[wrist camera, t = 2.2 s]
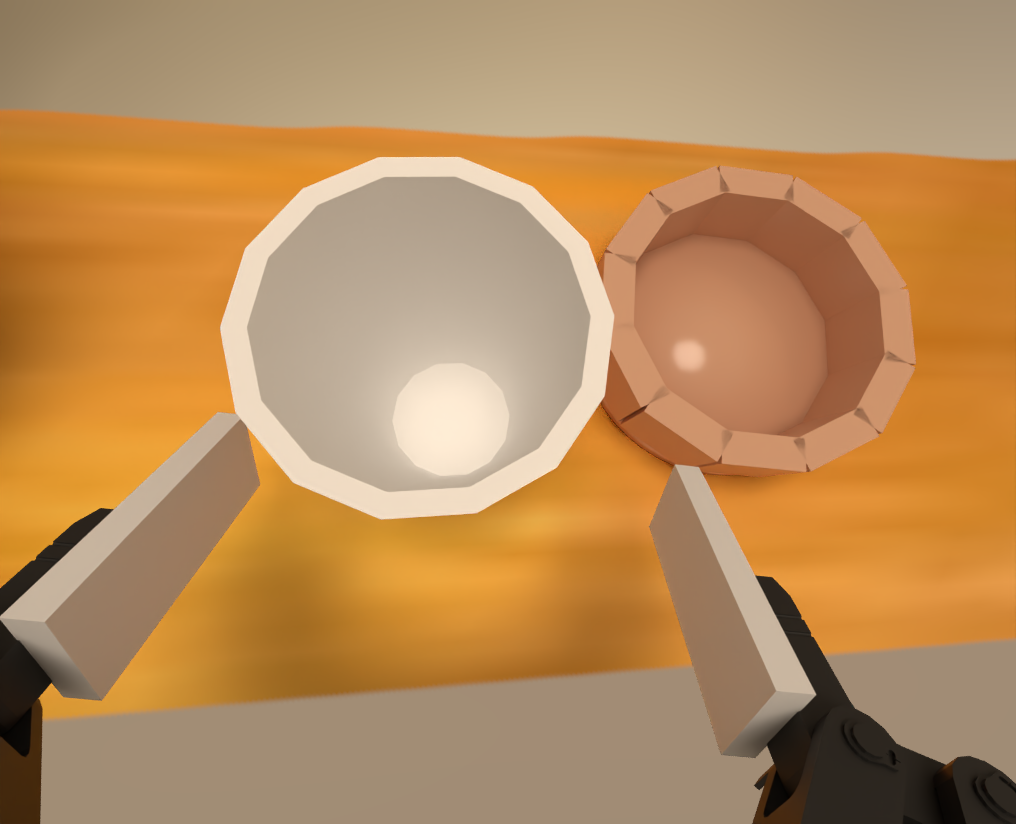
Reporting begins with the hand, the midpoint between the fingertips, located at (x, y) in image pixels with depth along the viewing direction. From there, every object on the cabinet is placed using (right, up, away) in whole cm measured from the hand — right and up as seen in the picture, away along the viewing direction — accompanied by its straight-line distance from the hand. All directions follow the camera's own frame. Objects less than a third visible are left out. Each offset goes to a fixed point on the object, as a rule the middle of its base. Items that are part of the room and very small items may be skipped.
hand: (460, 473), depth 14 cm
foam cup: (-1, +1, +10) cm, 10 cm away
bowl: (+13, +6, +11) cm, 18 cm away
